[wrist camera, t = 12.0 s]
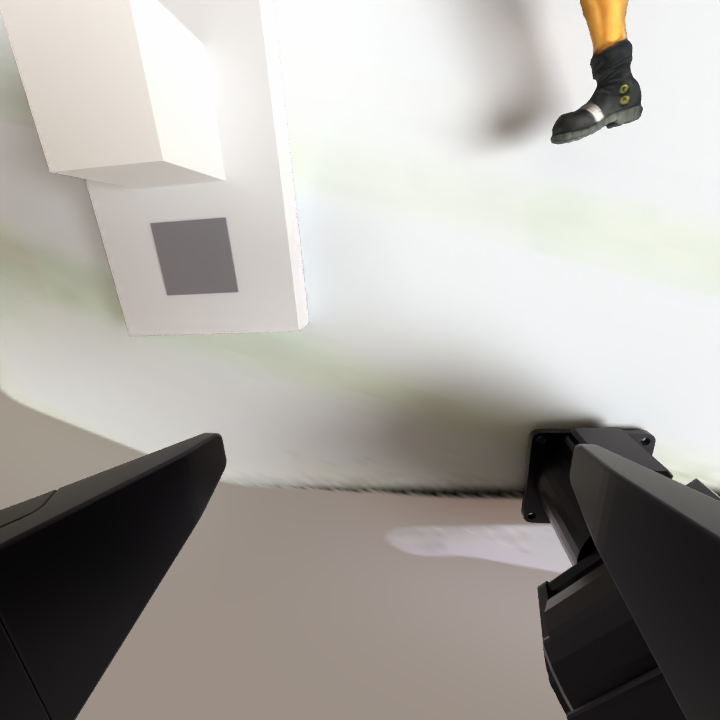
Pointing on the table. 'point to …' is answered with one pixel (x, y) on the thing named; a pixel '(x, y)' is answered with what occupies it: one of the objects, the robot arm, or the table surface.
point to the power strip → (216, 200)
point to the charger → (116, 91)
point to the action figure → (604, 76)
